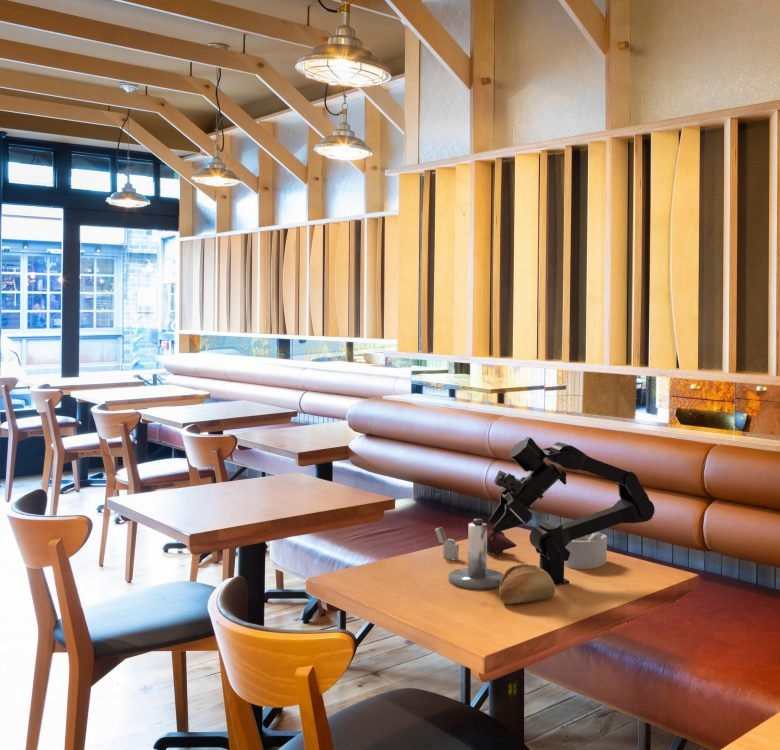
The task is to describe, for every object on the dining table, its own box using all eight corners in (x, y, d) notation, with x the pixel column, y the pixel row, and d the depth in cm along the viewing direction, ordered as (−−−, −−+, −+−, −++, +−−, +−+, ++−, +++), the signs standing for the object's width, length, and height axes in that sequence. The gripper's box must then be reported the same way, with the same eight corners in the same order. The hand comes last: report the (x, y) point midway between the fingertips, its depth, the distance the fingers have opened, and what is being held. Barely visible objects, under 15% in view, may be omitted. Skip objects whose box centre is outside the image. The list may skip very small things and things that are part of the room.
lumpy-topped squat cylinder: (611, 561, 220) (611, 530, 219) (587, 572, 210) (588, 539, 210) (577, 554, 227) (577, 523, 226) (552, 564, 217) (552, 532, 217)
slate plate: (515, 586, 198) (515, 581, 198) (463, 592, 193) (463, 587, 193) (488, 570, 211) (488, 565, 211) (439, 575, 206) (439, 570, 206)
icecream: (526, 533, 224) (487, 528, 235) (508, 531, 219) (469, 525, 231) (523, 559, 223) (484, 552, 234) (505, 557, 218) (466, 549, 230)
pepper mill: (489, 577, 201) (490, 521, 200) (472, 579, 199) (473, 522, 198) (481, 572, 205) (481, 516, 204) (464, 574, 203) (465, 518, 203)
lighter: (458, 559, 221) (459, 530, 221) (455, 560, 220) (455, 531, 219) (438, 554, 226) (438, 526, 225) (434, 555, 224) (434, 527, 224)
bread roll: (487, 600, 188) (487, 566, 188) (535, 589, 196) (536, 556, 196) (515, 612, 180) (515, 577, 179) (564, 600, 188) (564, 566, 187)
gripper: (509, 454, 209) (466, 496, 210) (518, 466, 191) (471, 512, 192) (540, 485, 210) (496, 526, 211) (551, 500, 191) (504, 545, 192)
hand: (491, 527), depth 201 cm, fingers open, 9 cm apart
